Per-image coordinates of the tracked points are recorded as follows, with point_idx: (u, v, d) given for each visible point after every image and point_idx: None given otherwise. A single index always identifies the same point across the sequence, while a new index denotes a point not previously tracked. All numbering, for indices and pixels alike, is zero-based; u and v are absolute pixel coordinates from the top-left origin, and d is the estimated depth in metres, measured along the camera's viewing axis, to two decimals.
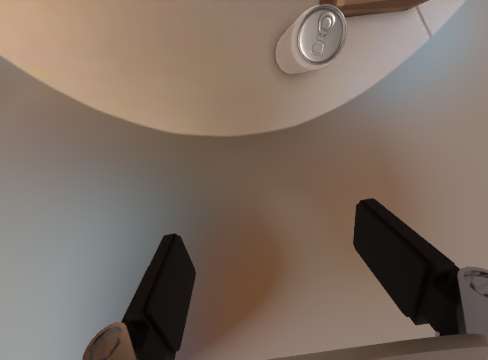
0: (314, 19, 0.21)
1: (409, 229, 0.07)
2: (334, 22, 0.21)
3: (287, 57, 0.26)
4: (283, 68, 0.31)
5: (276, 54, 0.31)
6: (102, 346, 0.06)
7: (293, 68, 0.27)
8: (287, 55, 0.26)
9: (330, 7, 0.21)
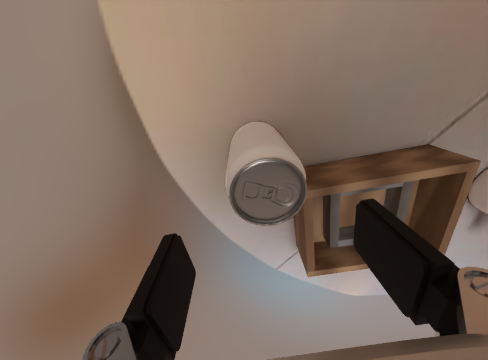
0: (289, 178, 0.14)
1: (409, 229, 0.07)
2: (285, 206, 0.15)
3: (242, 143, 0.16)
4: (234, 137, 0.21)
5: (251, 123, 0.22)
6: (102, 346, 0.06)
7: (229, 154, 0.18)
8: (244, 143, 0.16)
9: (303, 196, 0.14)
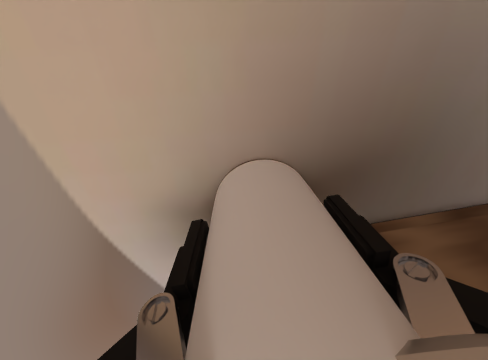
0: None
1: (361, 221, 0.08)
2: None
3: (232, 268, 0.05)
4: (219, 196, 0.11)
5: (253, 168, 0.11)
6: (152, 312, 0.06)
7: (202, 273, 0.07)
8: (239, 274, 0.05)
9: None
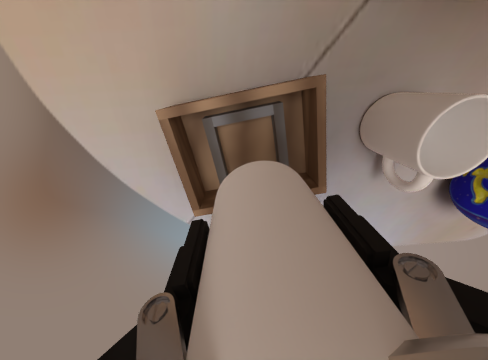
0: None
1: (361, 221, 0.08)
2: None
3: (233, 269, 0.05)
4: (219, 197, 0.11)
5: (253, 169, 0.11)
6: (152, 312, 0.06)
7: (203, 274, 0.07)
8: (240, 276, 0.05)
9: None
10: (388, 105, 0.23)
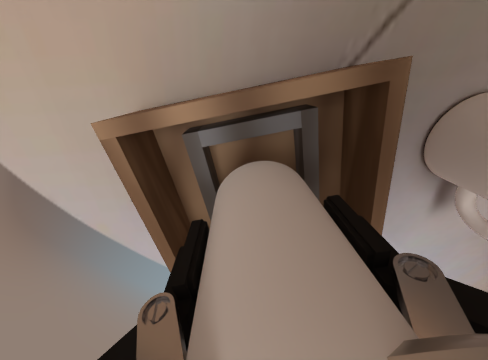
0: None
1: (361, 221, 0.08)
2: None
3: (233, 270, 0.05)
4: (219, 197, 0.11)
5: (253, 169, 0.11)
6: (153, 312, 0.06)
7: (203, 275, 0.07)
8: (240, 276, 0.05)
9: None
10: None
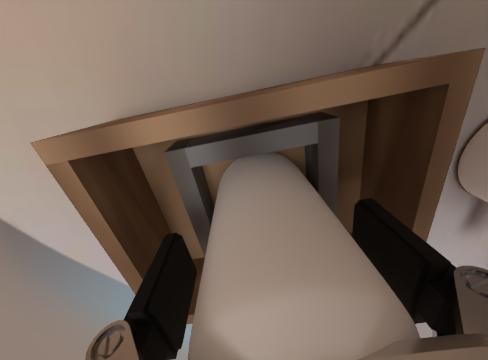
0: None
1: (406, 228, 0.07)
2: None
3: (235, 229, 0.07)
4: (223, 182, 0.12)
5: (253, 157, 0.12)
6: (105, 344, 0.06)
7: (209, 240, 0.08)
8: (240, 232, 0.06)
9: None
10: None
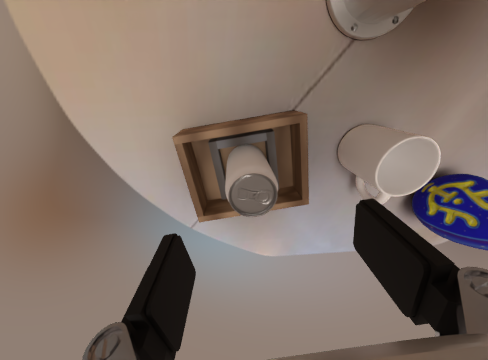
0: (266, 186, 0.22)
1: (409, 229, 0.07)
2: (264, 204, 0.23)
3: (236, 162, 0.24)
4: (230, 156, 0.29)
5: (242, 146, 0.30)
6: (102, 346, 0.06)
7: (227, 169, 0.26)
8: (237, 162, 0.24)
9: (275, 197, 0.22)
10: (358, 135, 0.29)
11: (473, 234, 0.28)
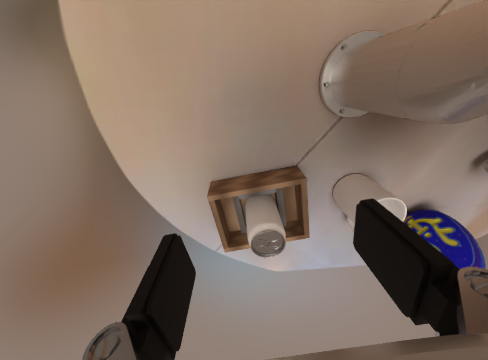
0: (277, 237, 0.31)
1: (409, 229, 0.07)
2: (276, 248, 0.32)
3: (254, 216, 0.33)
4: (248, 203, 0.39)
5: None
6: (102, 346, 0.06)
7: (248, 219, 0.35)
8: (256, 216, 0.33)
9: (283, 244, 0.31)
10: (347, 186, 0.38)
11: None
